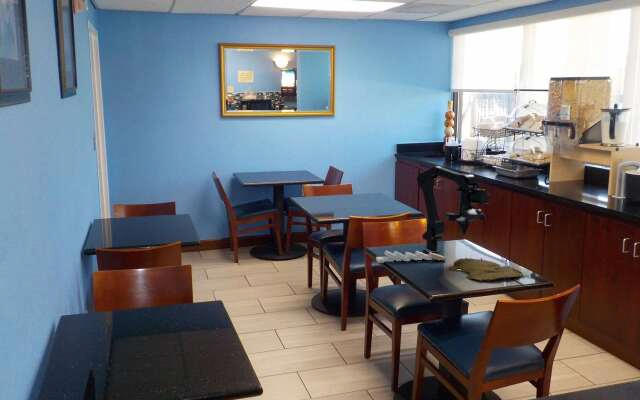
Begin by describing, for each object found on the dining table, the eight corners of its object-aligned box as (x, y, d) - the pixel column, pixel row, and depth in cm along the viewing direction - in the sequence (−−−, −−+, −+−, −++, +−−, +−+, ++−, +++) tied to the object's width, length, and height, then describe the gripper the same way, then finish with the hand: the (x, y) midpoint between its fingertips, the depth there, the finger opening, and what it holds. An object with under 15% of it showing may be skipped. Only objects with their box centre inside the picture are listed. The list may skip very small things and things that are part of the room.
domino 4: (418, 259, 272) (404, 255, 271) (419, 255, 272) (405, 251, 270) (421, 261, 268) (407, 257, 266) (422, 258, 267) (408, 253, 266)
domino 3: (405, 260, 270) (393, 253, 268) (407, 256, 269) (394, 250, 268) (408, 262, 265) (395, 256, 264) (410, 259, 265) (397, 252, 264)
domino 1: (390, 260, 269) (375, 260, 268) (390, 256, 269) (376, 257, 268) (393, 263, 265) (378, 263, 264) (393, 259, 265) (378, 259, 264)
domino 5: (427, 259, 273) (414, 253, 271) (429, 255, 273) (416, 250, 271) (431, 261, 269) (417, 256, 267) (432, 258, 268) (419, 252, 267)
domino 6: (441, 259, 273) (427, 255, 272) (442, 255, 273) (429, 251, 271) (444, 261, 269) (431, 257, 267) (446, 258, 268) (432, 254, 267)
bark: (537, 270, 246) (481, 277, 234) (536, 279, 247) (481, 286, 234) (492, 254, 271) (440, 260, 258) (492, 262, 272) (439, 268, 259)
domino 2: (396, 259, 270) (384, 253, 268) (398, 256, 270) (385, 249, 268) (399, 262, 265) (386, 255, 264) (401, 258, 265) (388, 252, 264)
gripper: (454, 204, 260) (452, 238, 262) (492, 204, 264) (490, 237, 266) (444, 200, 270) (442, 233, 273) (480, 200, 274) (478, 232, 277)
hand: (463, 234), depth 272 cm, fingers closed
